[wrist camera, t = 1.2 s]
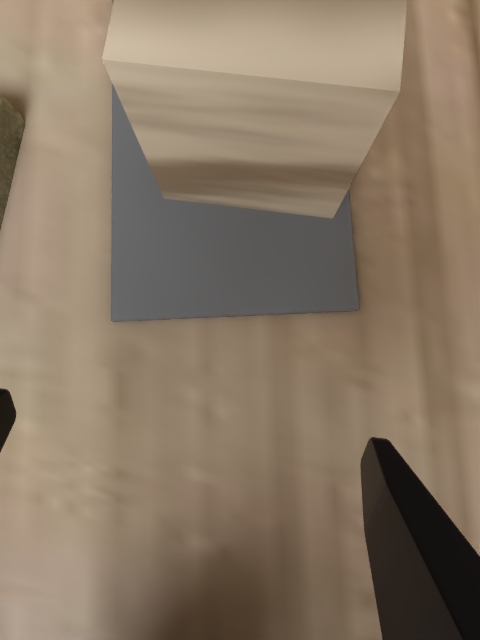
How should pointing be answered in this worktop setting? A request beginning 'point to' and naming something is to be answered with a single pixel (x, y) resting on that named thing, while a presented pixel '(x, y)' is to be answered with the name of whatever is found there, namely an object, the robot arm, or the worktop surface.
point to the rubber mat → (218, 251)
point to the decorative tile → (8, 147)
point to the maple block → (256, 95)
